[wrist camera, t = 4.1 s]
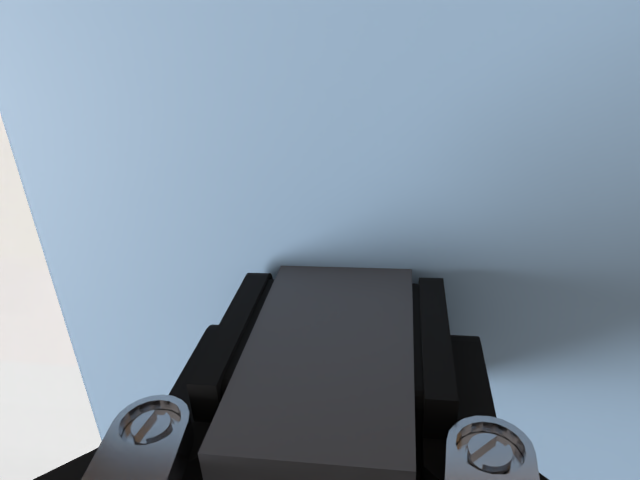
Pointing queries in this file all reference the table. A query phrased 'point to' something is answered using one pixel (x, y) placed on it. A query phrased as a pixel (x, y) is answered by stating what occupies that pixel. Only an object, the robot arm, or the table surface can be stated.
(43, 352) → the table surface
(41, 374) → the table surface
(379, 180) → the lid
